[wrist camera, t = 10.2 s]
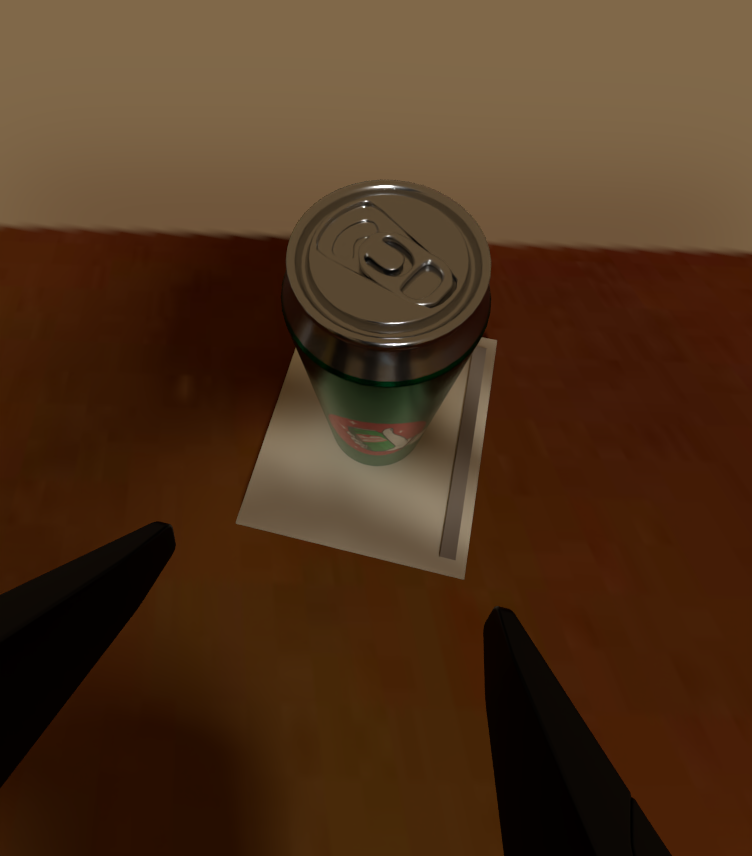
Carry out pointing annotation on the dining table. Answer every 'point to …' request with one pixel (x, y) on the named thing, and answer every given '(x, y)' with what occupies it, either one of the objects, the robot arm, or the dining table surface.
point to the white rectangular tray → (374, 478)
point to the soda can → (385, 309)
